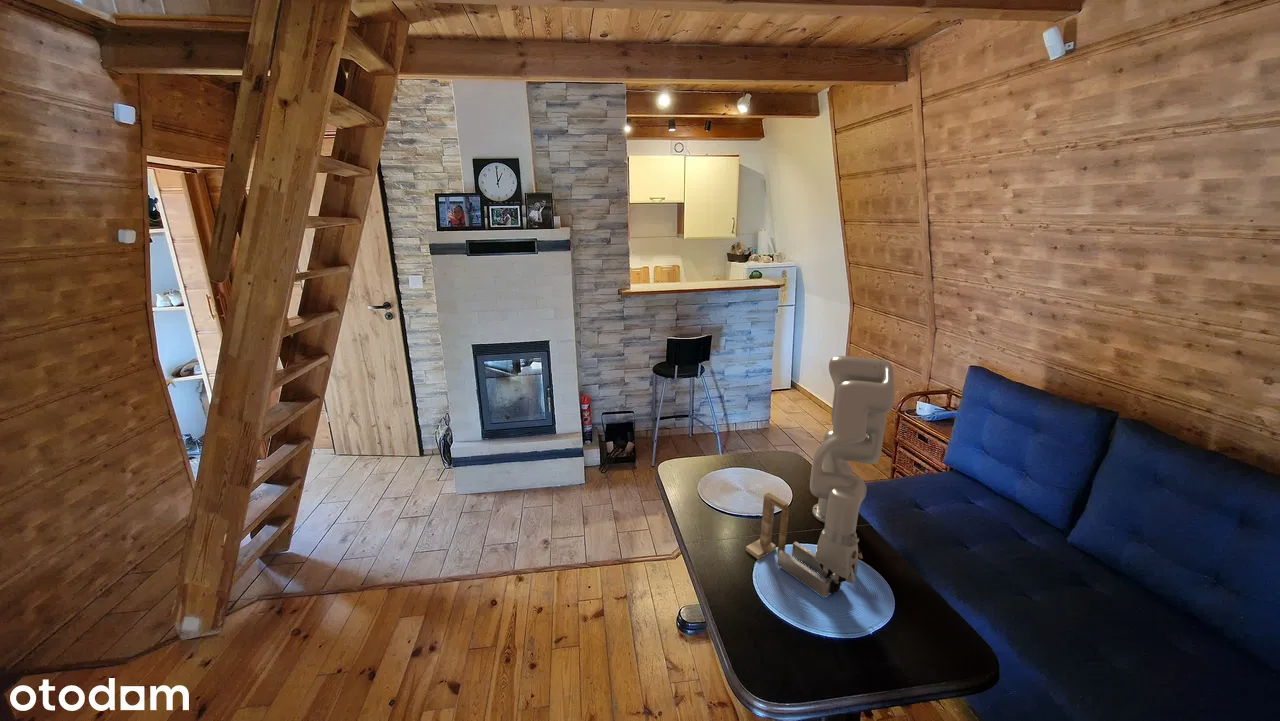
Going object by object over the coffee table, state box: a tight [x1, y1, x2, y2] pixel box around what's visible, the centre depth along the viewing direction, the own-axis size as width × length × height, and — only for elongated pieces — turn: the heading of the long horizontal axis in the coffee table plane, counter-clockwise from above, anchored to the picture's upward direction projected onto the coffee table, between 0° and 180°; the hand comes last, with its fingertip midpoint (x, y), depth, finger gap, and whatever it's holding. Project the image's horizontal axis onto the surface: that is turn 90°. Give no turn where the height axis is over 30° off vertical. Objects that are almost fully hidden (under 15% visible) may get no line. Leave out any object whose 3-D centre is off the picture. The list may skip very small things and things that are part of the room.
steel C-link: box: [777, 541, 843, 599], centre depth 141 cm, size 16×8×4 cm, turn 35°
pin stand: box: [745, 492, 790, 560], centre depth 148 cm, size 8×10×19 cm
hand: (831, 589), depth 136 cm, fingers closed on steel C-link, 1 cm apart
